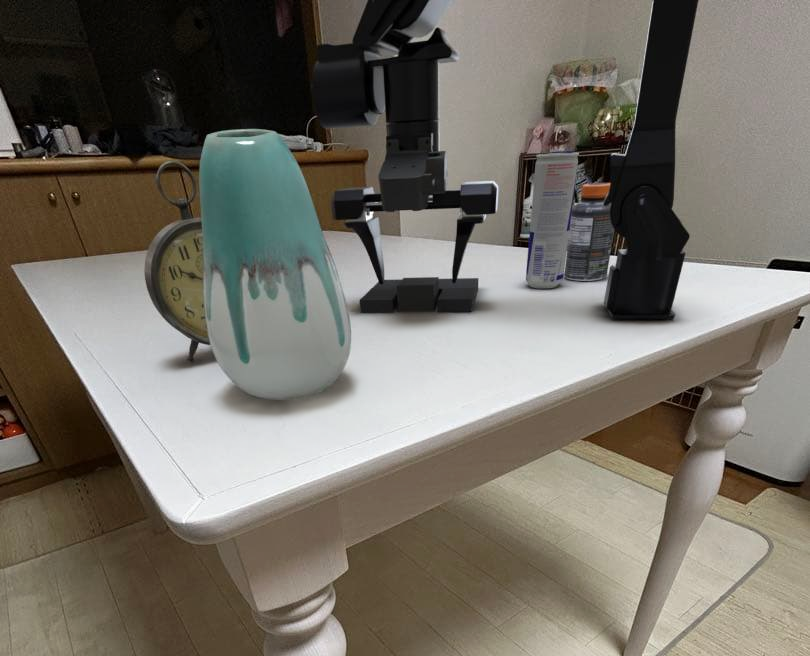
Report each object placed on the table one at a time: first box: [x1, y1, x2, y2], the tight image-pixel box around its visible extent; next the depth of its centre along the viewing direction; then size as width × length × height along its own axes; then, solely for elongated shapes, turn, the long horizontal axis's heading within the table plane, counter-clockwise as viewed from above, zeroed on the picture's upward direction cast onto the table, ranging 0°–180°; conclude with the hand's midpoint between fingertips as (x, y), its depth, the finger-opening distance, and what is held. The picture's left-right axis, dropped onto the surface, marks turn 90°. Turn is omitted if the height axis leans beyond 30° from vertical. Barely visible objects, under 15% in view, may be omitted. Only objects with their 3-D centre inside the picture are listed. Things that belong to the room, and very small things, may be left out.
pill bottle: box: [563, 182, 615, 282], centre depth 71 cm, size 6×6×11 cm
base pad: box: [359, 277, 479, 314], centre depth 68 cm, size 14×12×2 cm
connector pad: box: [397, 276, 440, 312], centre depth 65 cm, size 5×5×3 cm
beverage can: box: [525, 150, 580, 290], centre depth 67 cm, size 5×5×15 cm
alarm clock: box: [143, 160, 211, 363], centre depth 49 cm, size 11×5×16 cm, turn 123°
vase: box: [198, 128, 352, 401], centre depth 40 cm, size 12×12×18 cm
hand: (417, 283), depth 64 cm, fingers open, 9 cm apart
